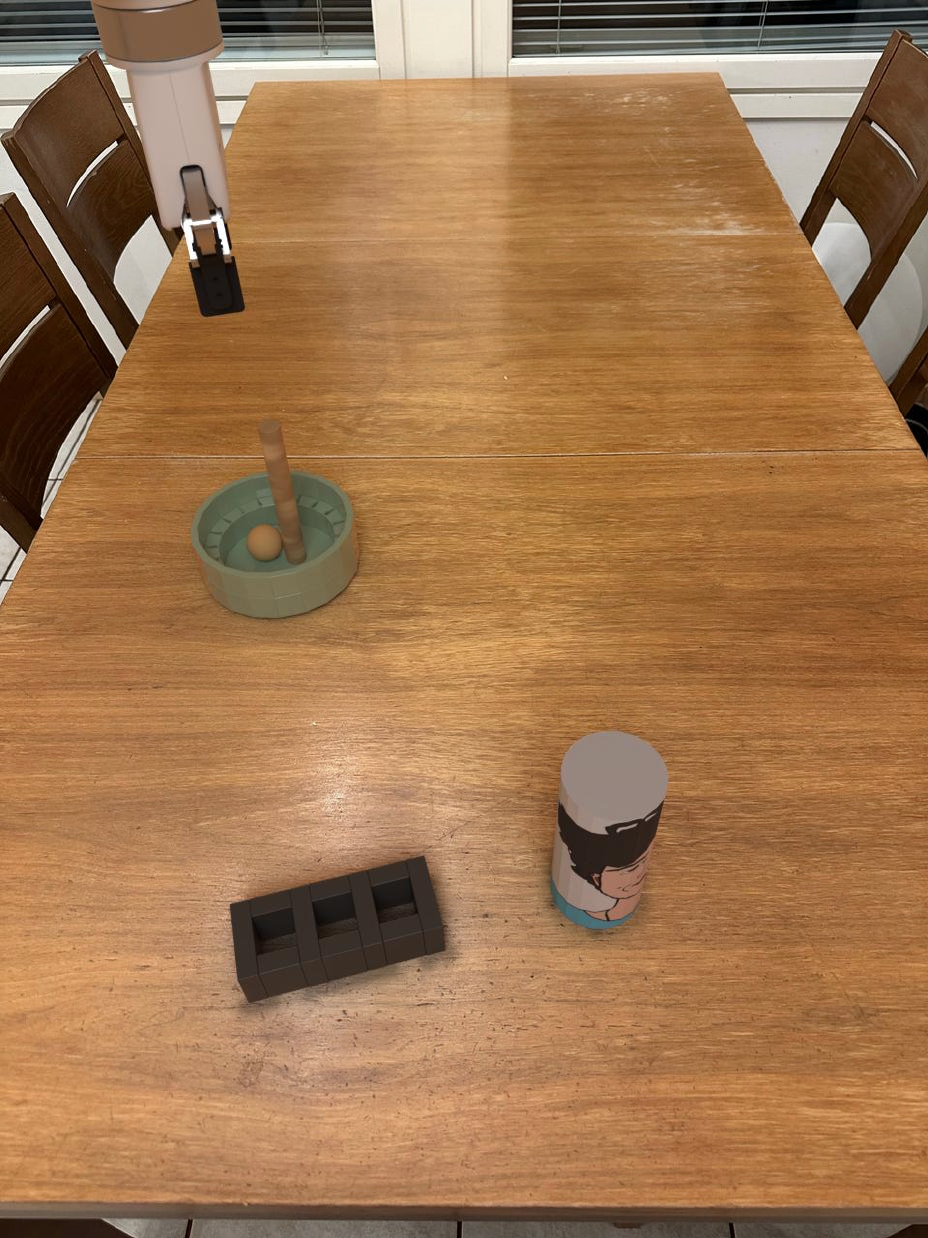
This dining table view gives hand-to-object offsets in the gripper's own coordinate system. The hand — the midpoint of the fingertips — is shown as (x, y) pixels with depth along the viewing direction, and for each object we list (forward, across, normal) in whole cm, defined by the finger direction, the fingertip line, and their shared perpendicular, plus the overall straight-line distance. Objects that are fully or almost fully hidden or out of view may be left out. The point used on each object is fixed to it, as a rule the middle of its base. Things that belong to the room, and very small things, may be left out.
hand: (217, 281), depth 72 cm
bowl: (+30, 0, 0) cm, 30 cm away
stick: (+30, 0, +2) cm, 30 cm away
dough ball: (+28, -1, -1) cm, 28 cm away
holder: (+30, +40, -1) cm, 50 cm away
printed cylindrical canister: (+31, +41, +18) cm, 54 cm away
